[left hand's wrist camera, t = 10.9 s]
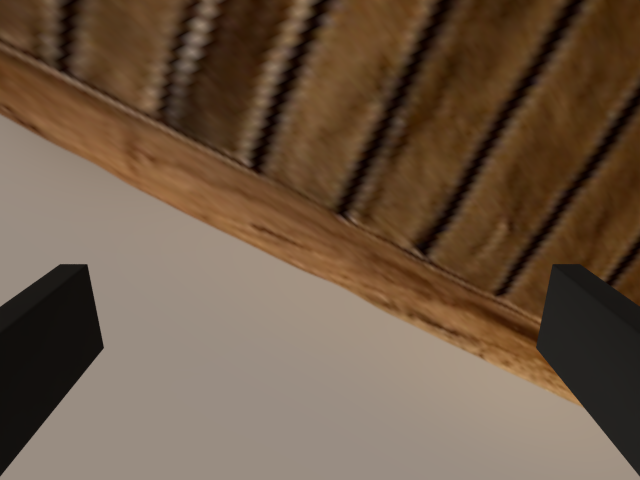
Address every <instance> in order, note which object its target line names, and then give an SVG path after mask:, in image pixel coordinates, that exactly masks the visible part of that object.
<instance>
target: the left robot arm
mask: <svg viewBox="0 0 640 480" xmlns="http://www.w3.org/2000/svg"><path fill="white" fill-rule="evenodd" d="M103 348H104V346H103V341H102V336H101V331H100V326H99V321H98V316H97V311H96V306H95V301H94V296H93V291H92V286H91V281H90V275H89V270H88V265H87V264H60V265H59V266H57V267H56V268H54V269H53V270H51V271H50V272H49V273H47V274H46V275H44V276H43V277H42V278H40V279H39V280H37V281H36V282H35V283H33V284H32V285H30V286H29V287H27V288H26V289H25V290H23V291H22V292H20V293H19V294H18V295H16V296H15V297H13V298H12V299H11V300H9V301H8V302H6V303H5V304H4V305H2V306H1V307H0V476H1V475H2V473H3V472H4V471H5V470H6V468H7V467H8V466H9V465H10V464H11V462H12V461H13V460H14V459H15V457H16V456H17V455H18V454H19V452H20V451H21V450H22V449H23V447H24V446H25V445H26V444H27V443H28V441H29V440H30V439H31V437H32V436H33V435H34V434H35V433H36V431H37V430H38V429H39V428H40V426H41V425H42V424H43V423H44V421H45V420H46V419H47V418H48V416H49V415H50V414H51V413H52V411H53V410H54V409H55V408H56V407H57V405H58V404H59V403H60V402H61V400H62V399H63V398H64V397H65V395H66V394H67V393H68V392H69V390H70V389H71V388H72V387H73V385H74V384H75V383H76V382H77V381H78V379H79V378H80V377H81V376H82V374H83V373H84V372H85V371H86V369H87V368H88V367H89V366H90V364H91V363H92V362H93V361H94V359H95V358H96V357H97V356H98V354H99V353H100V352H101V351H102V350H103ZM536 348H537V350H538V351H539V352H540V353H541V355H542V356H543V357H544V358H545V359H546V361H547V362H548V363H549V364H550V366H551V367H552V368H553V369H554V371H555V372H556V373H557V374H558V376H559V377H560V378H561V379H562V381H563V382H564V383H565V384H566V386H567V387H568V388H569V389H570V390H571V392H572V393H573V394H574V395H575V397H576V398H577V399H578V400H579V402H580V403H581V404H582V405H583V407H584V408H585V409H586V410H587V412H588V413H589V414H590V415H591V416H592V418H593V419H594V420H595V421H596V423H597V424H598V425H599V426H600V428H601V429H602V430H603V431H604V433H605V434H606V435H607V436H608V438H609V439H610V440H611V441H612V443H613V444H614V445H615V446H616V447H617V449H618V450H619V451H620V452H621V454H622V455H623V456H624V457H625V459H626V460H627V461H628V462H629V464H630V465H631V466H632V467H633V469H634V470H635V471H636V472H637V473H638V475H639V476H640V307H639V306H638V305H637V304H635V303H634V302H632V301H631V300H629V299H628V298H627V297H625V296H624V295H622V294H621V293H620V292H618V291H617V290H615V289H614V288H613V287H611V286H610V285H608V284H607V283H605V282H604V281H603V280H601V279H600V278H598V277H597V276H596V275H594V274H593V273H591V272H590V271H589V270H587V269H586V268H584V267H583V266H582V265H580V264H553V265H552V270H551V275H550V280H549V286H548V291H547V296H546V301H545V306H544V311H543V316H542V321H541V326H540V331H539V336H538V341H537V346H536Z"/></svg>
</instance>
